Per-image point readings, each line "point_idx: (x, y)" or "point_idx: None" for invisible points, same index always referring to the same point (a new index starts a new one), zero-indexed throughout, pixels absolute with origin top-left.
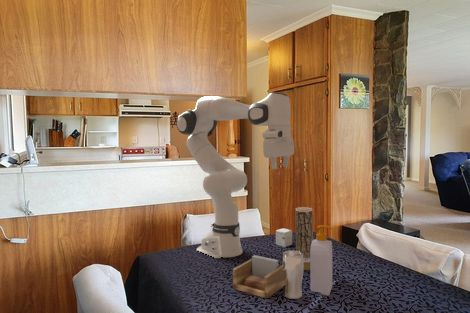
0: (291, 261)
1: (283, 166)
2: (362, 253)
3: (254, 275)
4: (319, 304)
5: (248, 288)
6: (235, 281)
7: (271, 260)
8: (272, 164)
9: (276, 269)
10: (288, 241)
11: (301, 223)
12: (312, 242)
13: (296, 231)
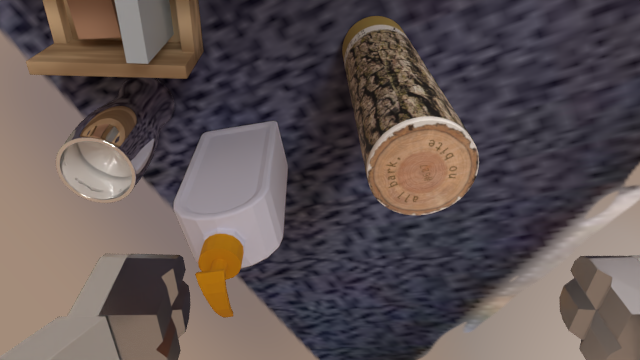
0: (68, 171)
1: (578, 267)
2: (613, 169)
3: None
4: (160, 170)
5: None
6: None
7: (124, 40)
8: (76, 328)
9: (116, 68)
10: None
11: (359, 134)
12: (194, 221)
13: (367, 81)
